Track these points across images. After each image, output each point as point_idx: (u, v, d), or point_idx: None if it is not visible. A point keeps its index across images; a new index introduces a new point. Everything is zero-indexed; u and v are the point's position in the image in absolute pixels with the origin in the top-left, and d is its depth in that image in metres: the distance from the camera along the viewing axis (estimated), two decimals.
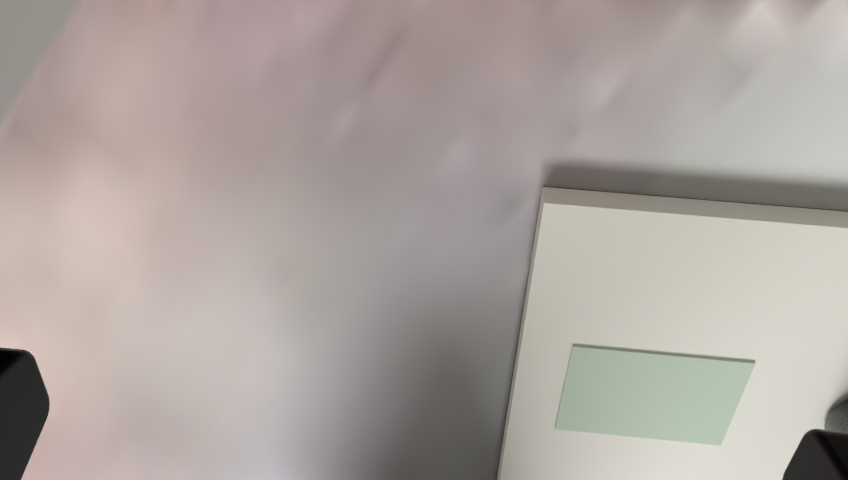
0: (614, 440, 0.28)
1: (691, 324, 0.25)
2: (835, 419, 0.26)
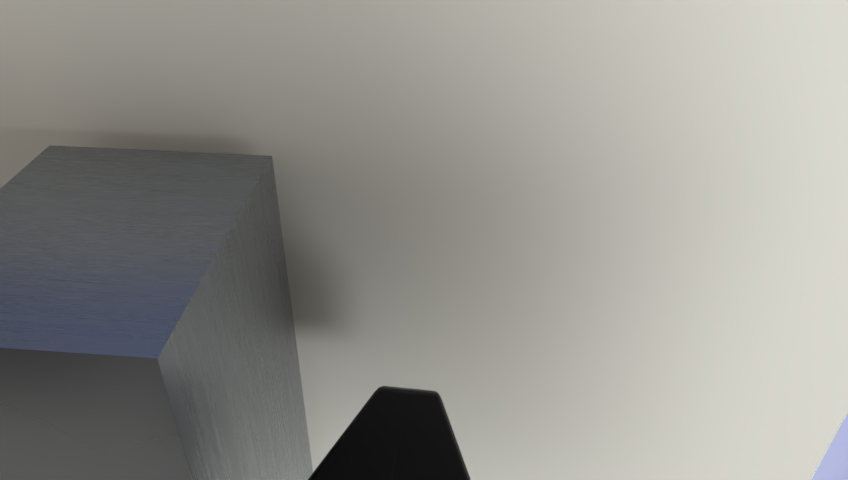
0: None
1: None
2: None
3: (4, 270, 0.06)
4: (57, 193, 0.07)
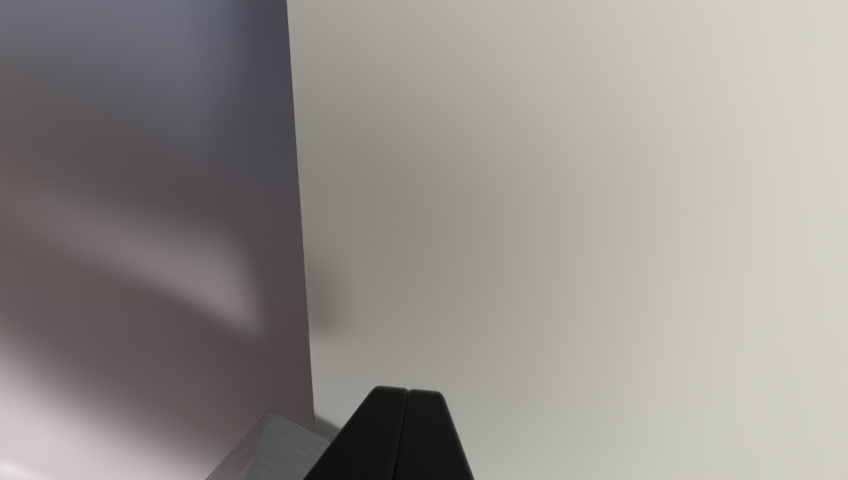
0: None
1: None
2: None
3: None
4: None
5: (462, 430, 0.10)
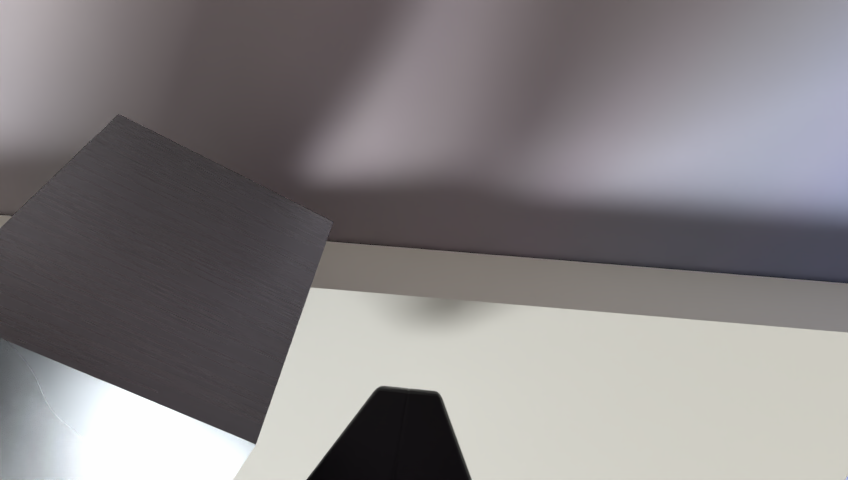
0: None
1: None
2: None
3: (92, 275, 0.06)
4: (134, 187, 0.07)
5: None
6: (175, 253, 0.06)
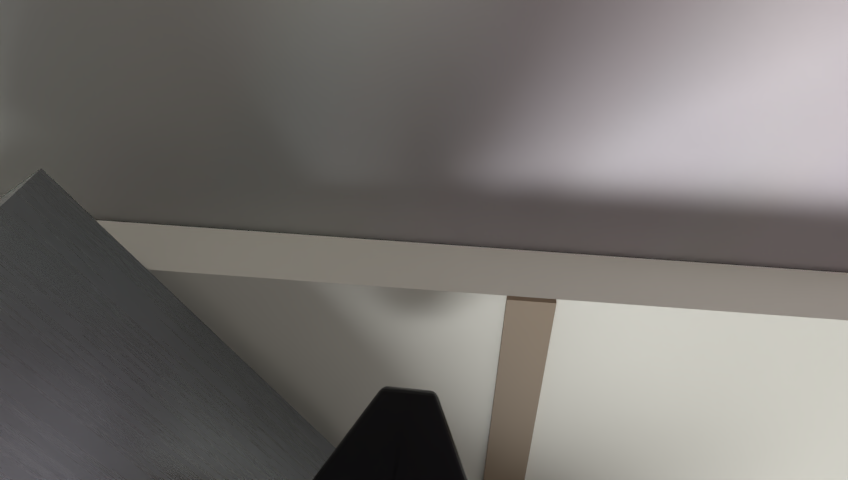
0: None
1: None
2: None
3: None
4: None
5: None
6: None
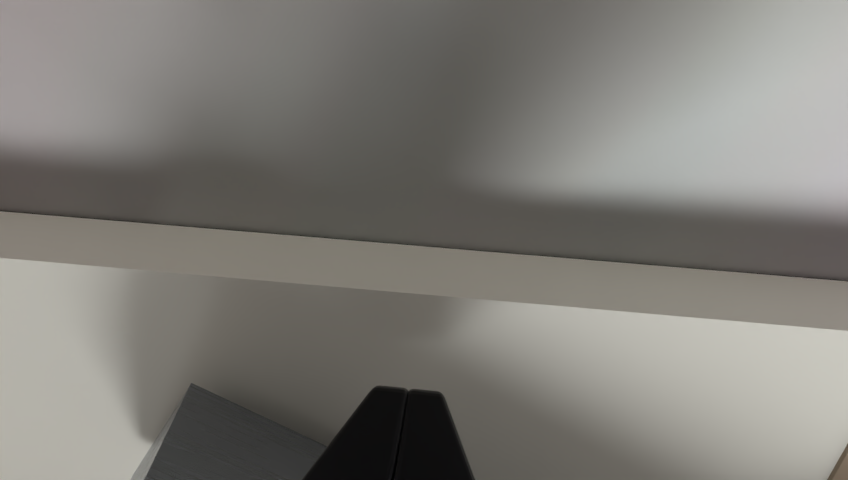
0: None
1: None
2: None
3: None
4: None
5: None
6: None
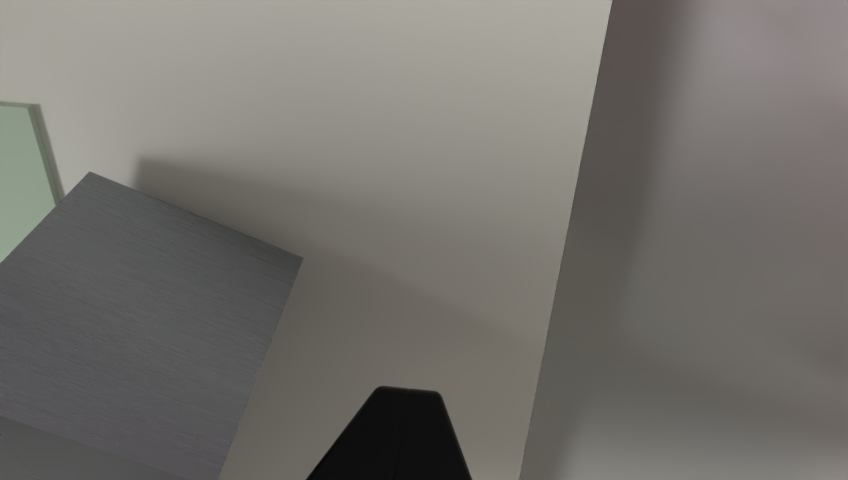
0: None
1: None
2: None
3: (58, 334, 0.06)
4: (102, 242, 0.07)
5: None
6: (141, 304, 0.06)
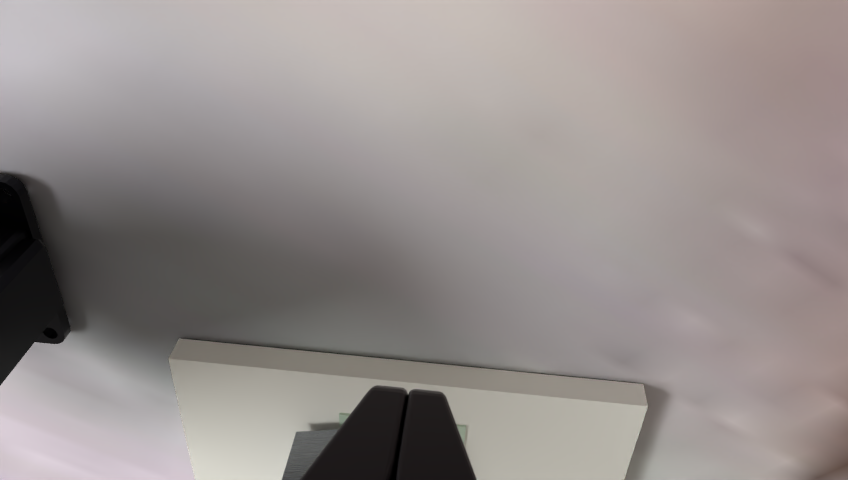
0: None
1: None
2: None
3: None
4: (305, 452, 0.24)
5: None
6: None
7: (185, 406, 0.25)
